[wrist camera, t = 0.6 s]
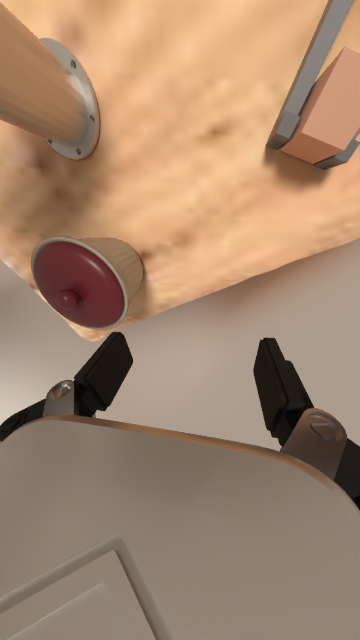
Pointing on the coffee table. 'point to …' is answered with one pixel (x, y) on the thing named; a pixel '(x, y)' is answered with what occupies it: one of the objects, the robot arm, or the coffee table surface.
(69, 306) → the canister
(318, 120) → the block
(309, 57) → the grey u-shaped bracket
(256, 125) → the coffee table surface
